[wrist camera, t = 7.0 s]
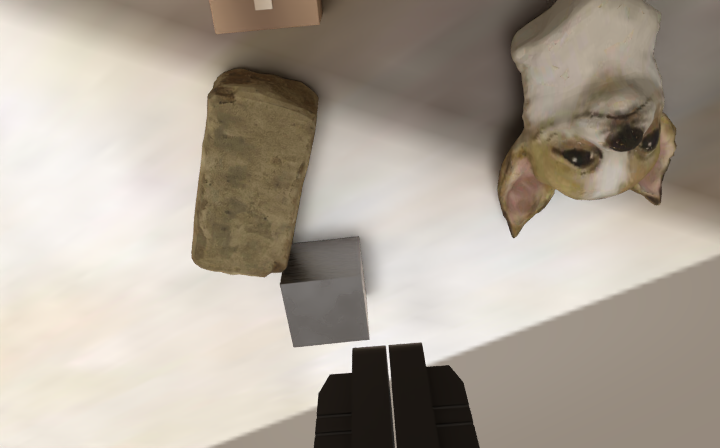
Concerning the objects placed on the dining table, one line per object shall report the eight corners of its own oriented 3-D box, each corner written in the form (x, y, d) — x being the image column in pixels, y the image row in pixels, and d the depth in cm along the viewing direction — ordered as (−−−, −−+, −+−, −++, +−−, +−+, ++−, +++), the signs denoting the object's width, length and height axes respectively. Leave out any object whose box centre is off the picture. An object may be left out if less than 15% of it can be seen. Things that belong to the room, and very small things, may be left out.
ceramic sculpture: (769, -46, 21) (726, 253, 28) (656, -59, 28) (646, 181, 36) (502, 25, 22) (530, 295, 30) (460, -6, 29) (491, 217, 37)
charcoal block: (358, 235, 36) (361, 275, 32) (366, 294, 39) (369, 339, 34) (285, 243, 36) (277, 284, 32) (297, 302, 39) (291, 347, 34)
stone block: (205, 233, 36) (186, 274, 31) (222, 59, 31) (202, 77, 26) (292, 247, 37) (285, 289, 32) (323, 80, 31) (320, 102, 27)
